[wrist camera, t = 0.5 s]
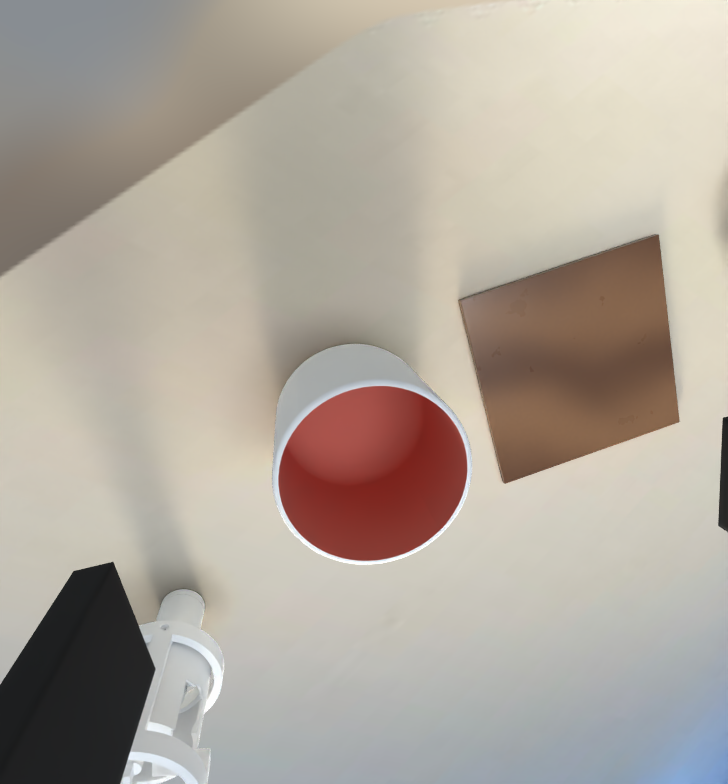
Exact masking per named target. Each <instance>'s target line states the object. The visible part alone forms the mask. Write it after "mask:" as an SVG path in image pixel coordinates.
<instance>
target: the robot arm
mask: <svg viewBox="0 0 728 784" xmlns="http://www.w3.org/2000/svg"><path fill="white" fill-rule="evenodd" d="M718 526H720V527H721V528H723V529H724V530H726V531H727V532H728V417H724V418H723V425H722V450H721V474H720V499H719V523H718ZM155 670H156V668H155V666H154V663H153V661H152V658H151V656H150V653H149V651H148V648H147V646H146V643H145V641H144V638H143V636H142V633H141V631H140V628H139V626H138V623H137V621H136V618H135V615H134V613H133V610H132V608H131V605H130V603H129V600H128V598H127V595H126V593H125V590H124V588H123V585H122V583H121V580H120V578H119V575H118V573H117V570H116V568H115V565H114V563H113V562H111V563H106V564H102V565H98V566H94V567H89V568H85V569H81V570H77V571H74V572H73V573H72V575H71V576H70V578H69V579H68V581H67V582H66V584H65V585H64V587H63V589H62V590H61V592H60V593H59V595H58V596H57V598H56V599H55V601H54V602H53V604H52V606H51V607H50V609H49V610H48V612H47V613H46V615H45V616H44V618H43V620H42V621H41V623H40V624H39V626H38V627H37V629H36V630H35V632H34V633H33V635H32V637H31V638H30V640H29V641H28V643H27V644H26V646H25V647H24V649H23V650H22V652H21V654H20V655H19V657H18V658H17V660H16V661H15V663H14V664H13V666H12V668H11V669H10V671H9V672H8V674H7V675H6V677H5V678H4V680H3V681H2V683H1V685H0V784H120V783H121V780H122V777H123V773H124V770H125V767H126V764H127V760H128V757H129V754H130V751H131V747H132V744H133V741H134V738H135V734H136V731H137V728H138V725H139V722H140V718H141V715H142V712H143V709H144V705H145V702H146V699H147V696H148V692H149V689H150V686H151V683H152V679H153V676H154V673H155Z"/></svg>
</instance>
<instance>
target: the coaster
mask: <svg viewBox="0 0 728 784" xmlns="http://www.w3.org/2000/svg"><path fill="white" fill-rule="evenodd" d="M459 304H460V308H461V312H462V316H463V320H464V324H465V328H466V333H467V337H468V341H469V345H470V349H471V353H472V357H473V361H474V365H475V370H476V374H477V378H478V382H479V386H480V390H481V394H482V398H483V402H484V407H485V411H486V415H487V419H488V423H489V427H490V431H491V435H492V439H493V443H494V448H495V452H496V456H497V460H498V464H499V468H500V472H501V476H502V480H503V482H504V483H508V482H511V481H514V480H517V479H520V478H522V477H525V476H528V475H531V474H534V473H537V472H539V471H542V470H545V469H548V468H551V467H554V466H556V465H559V464H562V463H565V462H568V461H571V460H573V459H576V458H579V457H582V456H585V455H587V454H590V453H593V452H596V451H599V450H602V449H604V448H607V447H610V446H613V445H616V444H619V443H621V442H624V441H627V440H630V439H633V438H636V437H638V436H641V435H644V434H647V433H650V432H653V431H655V430H658V429H661V428H664V427H667V426H670V425H672V424H675V423H678V422H679V413H678V404H677V395H676V386H675V377H674V368H673V359H672V350H671V341H670V332H669V323H668V314H667V305H666V296H665V287H664V278H663V269H662V260H661V251H660V242H659V235H652V236H649V237H646V238H643V239H640V240H637V241H634V242H631V243H628V244H625V245H622V246H619V247H616V248H613V249H610V250H607V251H604V252H601V253H598V254H595V255H592V256H589V257H586V258H583V259H580V260H577V261H574V262H571V263H568V264H565V265H562V266H559V267H556V268H553V269H550V270H547V271H544V272H541V273H538V274H535V275H532V276H529V277H526V278H523V279H520V280H517V281H514V282H511V283H508V284H505V285H502V286H500V287H497V288H494V289H491V290H488V291H485V292H482V293H479V294H476V295H473V296H470V297H467V298H464V299H461V300H459Z"/></svg>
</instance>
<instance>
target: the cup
mask: <svg viewBox="0 0 728 784" xmlns="http://www.w3.org/2000/svg"><path fill="white" fill-rule="evenodd" d="M471 475H472V455H471V448H470V444H469V440H468V437H467V434H466V432H465V430H464V428H463V426H462V424H461V422H460V421H459V419H458V418H457V416H456V415H455V413H454V412H453V411H452V410H451V409H450V408H449V407H448V406H447V405H446V403H445V402H444V401H443V400H442V399H441V398H440V397H439V396H438V395H437V394H436V393H435V392H434V391H433V390H432V389H431V388H430V387H429V386H428V385H427V384H426V383H425V382H424V381H423V380H422V379H421V378H420V377H419V376H418V375H417V374H416V373H415V371H414V370H413V369H412V368H411V367H410V366H409V365H408V364H407V363H405V362H404V361H403V360H402V359H401V358H399V357H398V356H396V355H395V354H393V353H391V352H389V351H387V350H384V349H382V348H379V347H376V346H372V345H366V344H344V345H339V346H334V347H331V348H328V349H325V350H323V351H321V352H319V353H317V354H315V355H313V356H312V357H310V358H309V359H307V360H306V361H305V362H303V363H302V364H301V365H300V366H299V367H298V368H297V369H296V370H295V371H294V372H293V374H292V375H291V376H290V378H289V379H288V381H287V382H286V384H285V386H284V388H283V390H282V392H281V394H280V397H279V401H278V405H277V410H276V422H275V437H274V452H273V468H272V487H273V494H274V498H275V502H276V505H277V508H278V510H279V513H280V515H281V517H282V519H283V520H284V522H285V524H286V525H287V526H288V528H289V529H290V530H291V532H292V533H293V534H294V535H295V536H296V537H297V538H298V539H299V540H300V541H302V542H303V543H304V544H305V545H306V546H307V547H309V548H311V549H312V550H314V551H315V552H317V553H319V554H321V555H323V556H325V557H328V558H331V559H333V560H337V561H341V562H345V563H352V564H379V563H385V562H390V561H394V560H397V559H400V558H403V557H406V556H408V555H410V554H412V553H415V552H417V551H419V550H420V549H422V548H423V547H425V546H427V545H428V544H430V543H431V542H432V541H434V540H435V539H436V538H437V537H438V536H439V535H441V534H442V533H443V532H444V531H445V529H446V528H447V527H448V526H449V525H450V524H451V522H452V521H453V520H454V519H455V517H456V516H457V514H458V512H459V511H460V509H461V507H462V505H463V503H464V501H465V498H466V496H467V493H468V490H469V486H470V482H471Z"/></svg>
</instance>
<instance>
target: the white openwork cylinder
mask: <svg viewBox="0 0 728 784" xmlns="http://www.w3.org/2000/svg"><path fill="white" fill-rule="evenodd" d="M204 611H205V603H204V600H203V598H202V597H201V596H200V595H199V594H198V593H196V592H194V591H192V590H187V589H179V590H175V591H173V592H171V593H169V594H168V595H166V596H165V598H164V599H163V601H162V603H161V606H160V610H159V613H158V616H157V619H156V621H155V622H150V623H146V624H143V625H140V626H139V628H140V631H141V633H142V636H143V638H144V641H145V643H146V646H147V648H148V651H149V653H150V656H151V658H152V661H153V663H154V666H155V668H156V670H155V673H154V676H153V679H152V683H151V686H150V689H149V692H148V696H147V699H146V702H145V705H144V709H143V712H142V715H141V718H140V722H139V725H138V728H137V731H136V734H135V738H134V741H133V744H132V747H131V751H130V754H129V757H128V760H127V764H126V767H125V770H124V773H123V777H122V780H121V783H120V784H158V783H162V782H165V781H167V780H170V779H172V778H174V777H176V776H177V775H178V776H180V777H181V778H182V779H183V780H184V781H185V783H186V784H207V782H208V775H209V768H210V760H211V749H210V748H199V749H198V745H199V739H200V733H201V728H202V722H203V716H204V713H205V712H206V711H207V710H208V709H209V708H210V707H211V706H212V705H213V704H214V702H215V701H216V699H217V698H218V696H219V693H220V691H221V687H222V680H223V674H224V657H223V654H222V651H221V649H220V647H219V645H218V644H217V642H216V641H215V640H214V639H213V638H212V637H211V636H210V635H209V634H208V633H206V632H205V631H203V630H202V629H200V628H201V623H202V619H203V615H204ZM212 670H213V674H214V679H213V681H212V683H211V684H210V686H209V682H210V677H211V671H212ZM187 686H196V687H195V688H193V689H192V690H191V691H189V692H187V693H186V690H187Z"/></svg>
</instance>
